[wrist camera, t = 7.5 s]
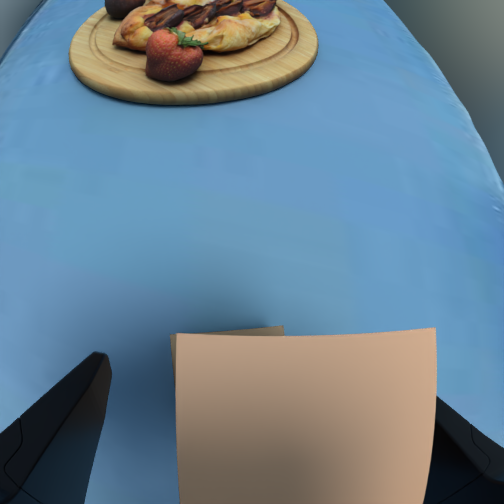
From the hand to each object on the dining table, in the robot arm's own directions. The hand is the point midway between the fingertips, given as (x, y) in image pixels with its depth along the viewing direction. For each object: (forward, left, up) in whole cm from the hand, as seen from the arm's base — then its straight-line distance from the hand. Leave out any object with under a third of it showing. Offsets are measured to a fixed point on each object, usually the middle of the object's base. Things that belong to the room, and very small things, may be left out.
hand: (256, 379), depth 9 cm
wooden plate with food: (+32, +20, -13) cm, 40 cm away
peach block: (-1, -1, -8) cm, 8 cm away
